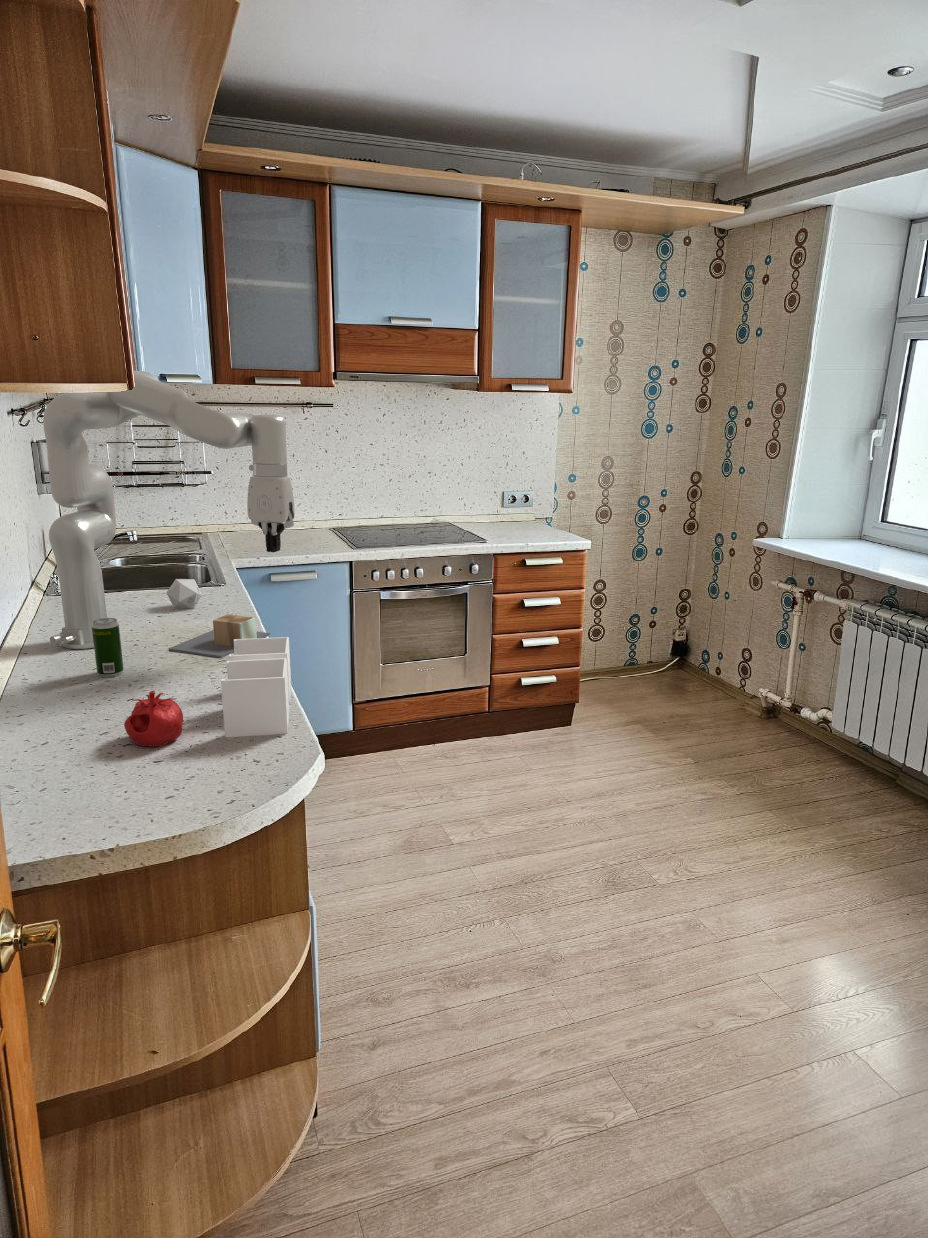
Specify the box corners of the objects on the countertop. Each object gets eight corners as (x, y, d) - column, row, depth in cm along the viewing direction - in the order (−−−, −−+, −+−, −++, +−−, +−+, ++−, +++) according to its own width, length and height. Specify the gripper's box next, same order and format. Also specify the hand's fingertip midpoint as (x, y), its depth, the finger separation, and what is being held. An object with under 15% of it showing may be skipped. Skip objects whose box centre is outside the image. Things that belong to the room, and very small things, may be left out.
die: (182, 615, 224) (202, 585, 225) (156, 598, 224) (176, 568, 225) (192, 618, 233) (211, 589, 234) (166, 602, 233) (186, 573, 234)
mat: (221, 657, 187) (220, 655, 187) (168, 650, 192) (168, 648, 192) (269, 634, 205) (269, 633, 205) (220, 628, 210) (220, 626, 210)
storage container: (287, 734, 146) (284, 677, 143) (225, 738, 144) (220, 680, 141) (291, 686, 170) (288, 637, 167) (237, 689, 168) (234, 639, 165)
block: (241, 623, 191) (212, 620, 194) (242, 647, 193) (214, 644, 195) (255, 617, 197) (228, 614, 199) (257, 641, 198) (229, 637, 201)
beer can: (125, 675, 175) (119, 622, 172) (98, 679, 172) (92, 625, 169) (122, 668, 179) (116, 616, 176) (96, 671, 177) (90, 619, 174)
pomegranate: (175, 723, 150) (171, 676, 147) (193, 742, 142) (189, 692, 140) (119, 736, 144) (114, 687, 142) (135, 756, 136) (129, 705, 134)
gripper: (232, 470, 180) (236, 551, 185) (289, 474, 175) (292, 557, 180) (251, 468, 187) (255, 545, 192) (307, 471, 182) (310, 551, 187)
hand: (273, 551), depth 186 cm, fingers closed
